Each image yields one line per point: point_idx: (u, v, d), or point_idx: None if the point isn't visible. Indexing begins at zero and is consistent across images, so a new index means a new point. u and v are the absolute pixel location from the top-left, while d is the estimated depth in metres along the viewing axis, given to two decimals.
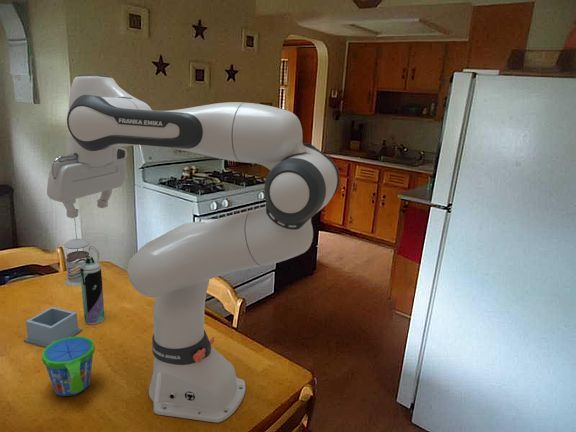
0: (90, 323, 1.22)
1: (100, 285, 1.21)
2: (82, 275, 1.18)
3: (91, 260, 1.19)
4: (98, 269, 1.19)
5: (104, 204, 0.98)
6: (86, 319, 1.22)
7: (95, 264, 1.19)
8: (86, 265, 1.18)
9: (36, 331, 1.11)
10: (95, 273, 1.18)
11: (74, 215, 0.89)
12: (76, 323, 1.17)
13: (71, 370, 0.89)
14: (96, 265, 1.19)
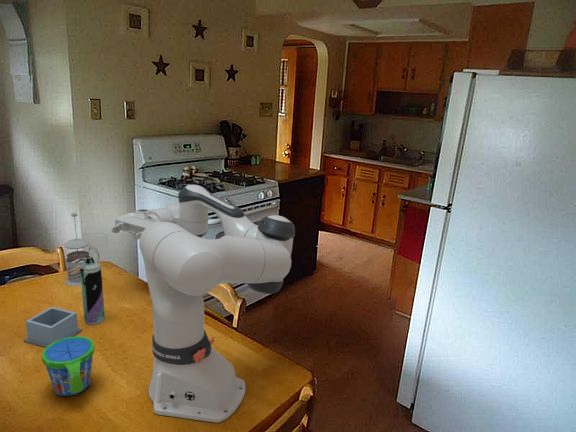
0: (90, 323, 1.22)
1: (100, 285, 1.21)
2: (82, 275, 1.18)
3: (91, 260, 1.19)
4: (98, 269, 1.19)
5: None
6: (86, 319, 1.22)
7: (95, 264, 1.19)
8: (86, 265, 1.18)
9: (36, 331, 1.11)
10: (95, 273, 1.18)
11: None
12: (76, 323, 1.17)
13: (71, 370, 0.89)
14: (96, 265, 1.19)
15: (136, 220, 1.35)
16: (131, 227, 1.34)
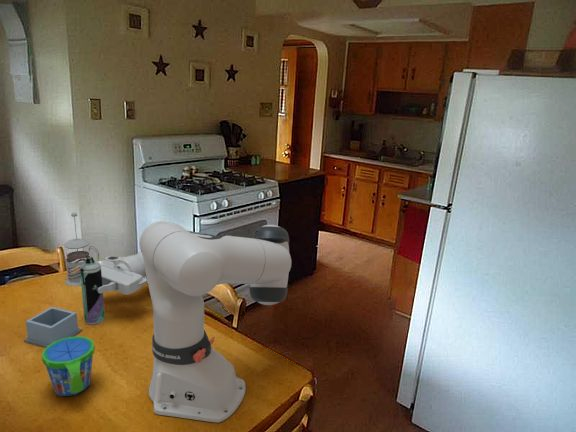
0: (90, 323, 1.22)
1: None
2: (82, 275, 1.18)
3: (91, 260, 1.19)
4: (98, 269, 1.19)
5: None
6: (86, 319, 1.22)
7: (95, 264, 1.19)
8: (86, 265, 1.18)
9: (36, 331, 1.11)
10: (95, 273, 1.18)
11: None
12: (76, 323, 1.17)
13: (71, 370, 0.89)
14: (96, 265, 1.19)
15: (104, 270, 1.28)
16: None
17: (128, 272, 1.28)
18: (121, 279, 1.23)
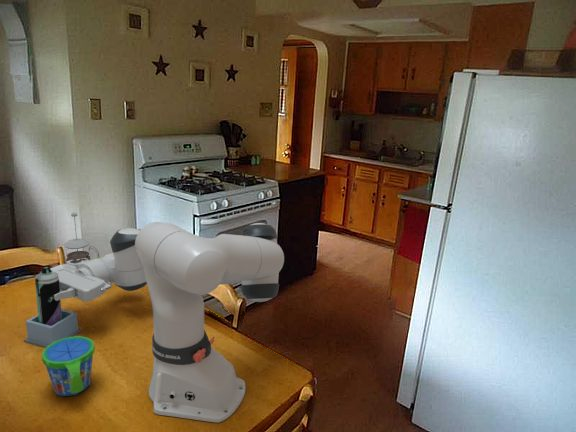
0: None
1: None
2: (37, 286, 1.09)
3: (47, 270, 1.09)
4: (55, 280, 1.10)
5: None
6: None
7: (52, 274, 1.10)
8: (42, 275, 1.09)
9: (36, 331, 1.11)
10: (51, 283, 1.09)
11: None
12: (76, 323, 1.17)
13: (71, 370, 0.89)
14: (53, 275, 1.10)
15: (64, 275, 1.18)
16: None
17: (90, 277, 1.18)
18: (81, 285, 1.13)
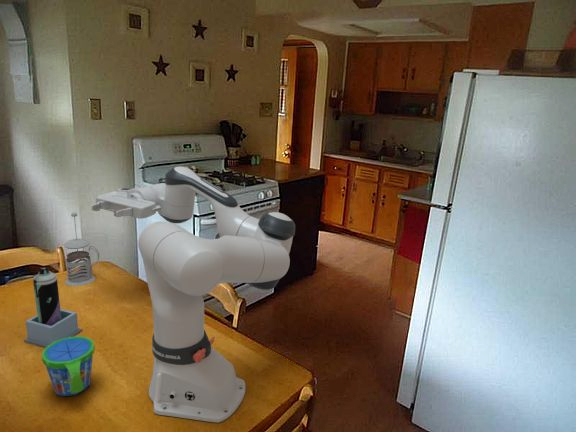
0: None
1: (56, 297, 1.11)
2: (35, 287, 1.08)
3: (45, 270, 1.09)
4: (53, 280, 1.10)
5: (97, 210, 1.25)
6: None
7: (50, 275, 1.10)
8: (39, 276, 1.08)
9: (36, 331, 1.11)
10: (50, 284, 1.09)
11: None
12: (76, 323, 1.17)
13: (71, 370, 0.89)
14: (51, 276, 1.10)
15: (118, 198, 1.29)
16: (112, 205, 1.28)
17: (141, 200, 1.29)
18: (135, 204, 1.24)
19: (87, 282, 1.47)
